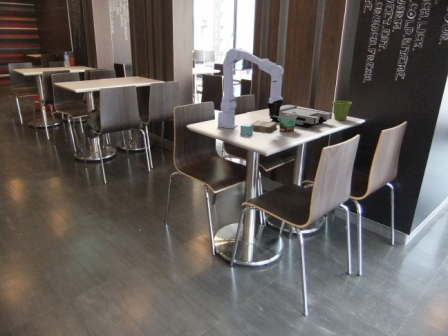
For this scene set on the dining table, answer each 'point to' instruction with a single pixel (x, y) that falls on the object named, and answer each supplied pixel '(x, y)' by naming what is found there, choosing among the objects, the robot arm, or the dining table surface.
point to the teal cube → (246, 129)
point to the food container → (287, 122)
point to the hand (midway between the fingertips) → (274, 114)
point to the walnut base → (264, 126)
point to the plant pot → (341, 109)
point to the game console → (303, 116)
